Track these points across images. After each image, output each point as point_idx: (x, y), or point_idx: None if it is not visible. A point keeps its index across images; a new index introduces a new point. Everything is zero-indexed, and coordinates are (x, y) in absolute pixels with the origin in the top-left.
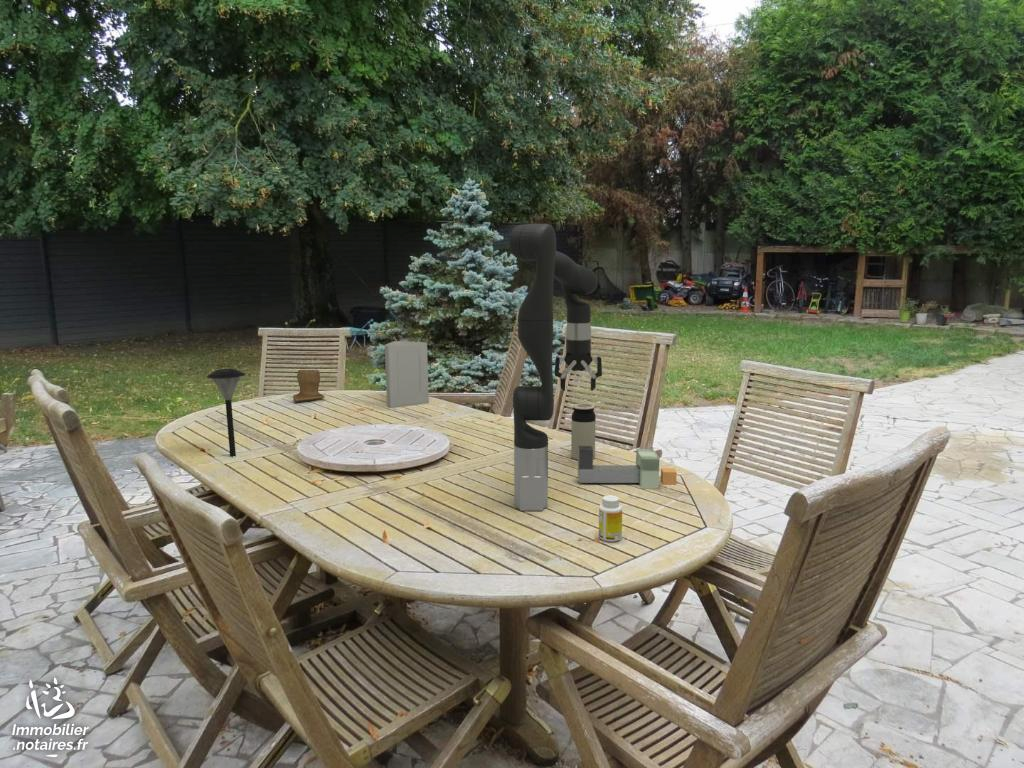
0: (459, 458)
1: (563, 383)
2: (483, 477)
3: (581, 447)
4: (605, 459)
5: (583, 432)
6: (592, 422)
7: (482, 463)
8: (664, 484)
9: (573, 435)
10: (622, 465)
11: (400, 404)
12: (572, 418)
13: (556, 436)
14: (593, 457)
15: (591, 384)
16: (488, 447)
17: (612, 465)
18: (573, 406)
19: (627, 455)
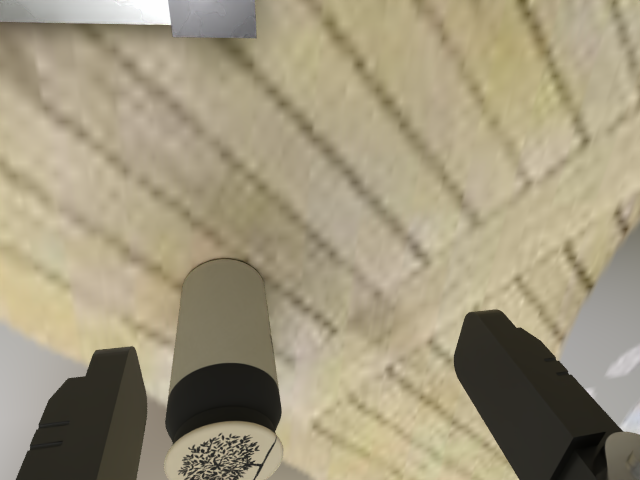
0: (591, 247)
1: (547, 371)
2: (583, 62)
3: (238, 4)
4: (141, 278)
5: (224, 328)
6: (181, 376)
7: (544, 208)
8: None
9: (265, 328)
10: (6, 17)
11: None
12: (277, 391)
13: (299, 441)
14: (186, 279)
15: (105, 418)
16: None
17: (65, 19)
18: (279, 444)
19: (62, 325)
